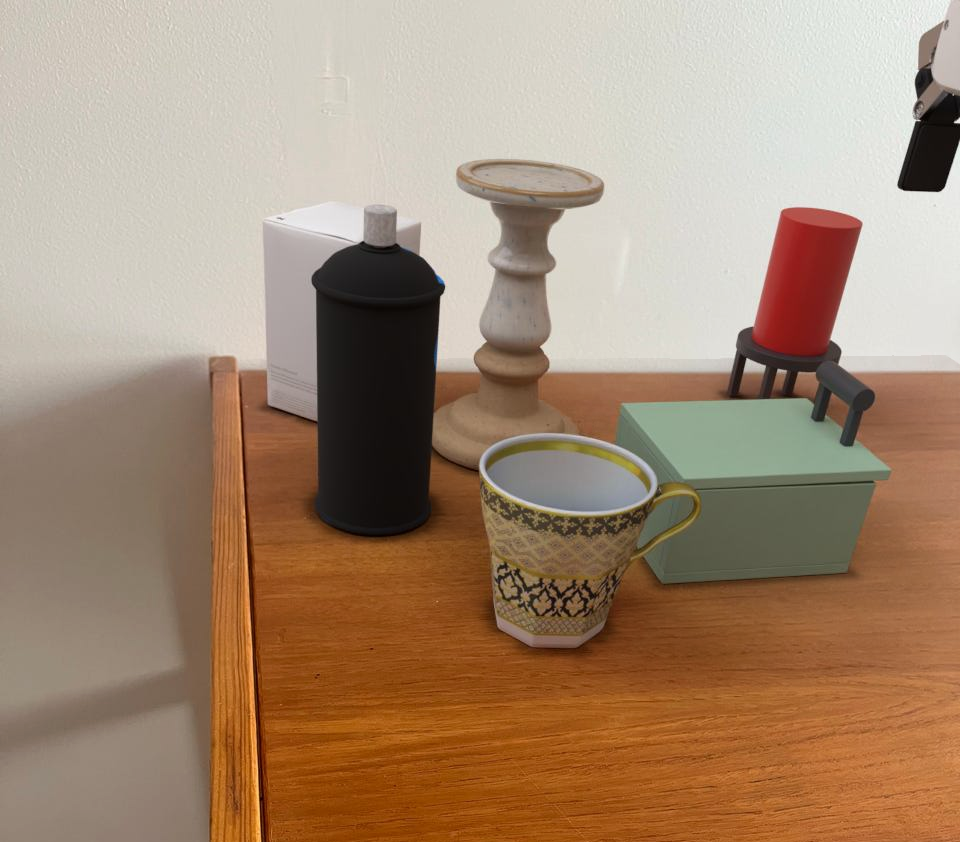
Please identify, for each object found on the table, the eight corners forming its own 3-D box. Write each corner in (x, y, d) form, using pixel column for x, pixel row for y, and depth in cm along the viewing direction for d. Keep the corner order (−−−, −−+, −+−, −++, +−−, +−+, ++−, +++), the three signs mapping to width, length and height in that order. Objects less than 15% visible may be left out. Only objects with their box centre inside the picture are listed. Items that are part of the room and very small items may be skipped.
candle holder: (571, 487, 78) (613, 205, 66) (411, 463, 79) (425, 181, 67) (585, 423, 88) (624, 168, 76) (443, 402, 89) (460, 148, 77)
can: (805, 329, 94) (837, 208, 88) (841, 356, 89) (878, 228, 83) (738, 329, 92) (767, 205, 86) (771, 356, 87) (804, 227, 81)
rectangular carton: (354, 437, 82) (356, 241, 73) (265, 407, 85) (257, 216, 76) (416, 402, 88) (425, 219, 80) (331, 376, 92) (331, 197, 83)
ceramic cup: (472, 666, 58) (487, 510, 53) (460, 573, 66) (472, 428, 61) (694, 670, 60) (732, 518, 54) (656, 578, 68) (686, 437, 62)
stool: (794, 387, 99) (811, 325, 95) (841, 426, 92) (861, 361, 88) (707, 388, 97) (721, 325, 93) (749, 428, 90) (765, 361, 86)
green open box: (770, 493, 80) (793, 410, 76) (846, 573, 70) (876, 483, 67) (604, 500, 76) (619, 413, 72) (661, 584, 67) (681, 491, 63)
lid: (804, 407, 76) (821, 342, 73) (888, 480, 67) (912, 409, 64) (619, 413, 72) (630, 345, 70) (682, 490, 63) (697, 415, 60)
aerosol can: (369, 550, 68) (376, 234, 56) (289, 503, 72) (281, 200, 61) (455, 511, 73) (478, 215, 61) (376, 470, 77) (383, 186, 66)
